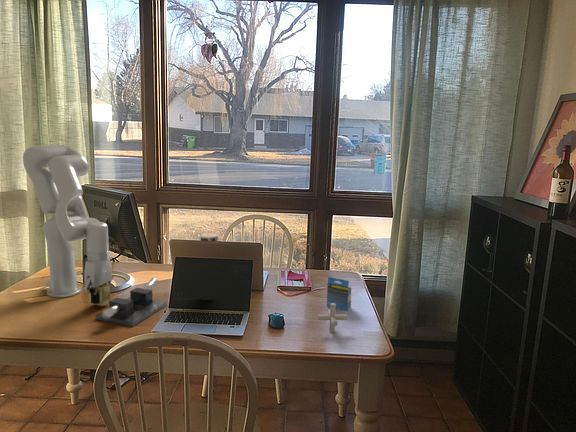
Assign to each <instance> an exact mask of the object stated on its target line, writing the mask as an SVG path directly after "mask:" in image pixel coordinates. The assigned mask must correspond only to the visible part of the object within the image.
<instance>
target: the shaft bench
mask: <svg viewBox="0 0 576 432" xmlns="http://www.w3.org/2000/svg"><path fill="white" fill-rule="evenodd" d="M158 284H159V280H158V279H157V278H156V277H151V279H150V280H149V281H148V282H147V283H146V284H145V286H143V288H140V287H136V288H134V289H131V290H130V291H129V292H130V296H129V297H127V298H126V299H125V298H119V297H115V298H114V299H112V300H111V299H110V302H109V303H108V304H109V308H106V309H105V310H102V311H100V312H99V313H97V314H95V319H96V320H99V321H104V322H108V323H109V322H110V323H114V324H119V325H124V326H129V327H134V326H136V325H137V324H139V323H141V322H142V321H144V320H146V319H147V318H149V317H151V316H153V315H154V314H155V313H157V312H158V311H161V310H162V309H164V308H165V307H167V302H166V301H160V300H155V299H154V298H153V290H154V288H155V287H156V286H157V285H158ZM134 309H136V311H134ZM137 309H138V310H137Z"/></svg>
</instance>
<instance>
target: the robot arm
mask: <svg viewBox="0 0 576 432" xmlns="http://www.w3.org/2000/svg"><path fill="white" fill-rule="evenodd" d="M22 163H23V167H24V169H25V172H26V173H27V175H28V177H29V179H30V180H31V183H32V185H33V187H34V191H35V194H36V196H37V201H38V204H39V206H40V209H41V212H43V214H45V215H55V216H53V217H51V218H48V219H46V220H45V222H44V223H43V226H42V227H43V228H42V229H43V234H44V238H45V242H46V246H47V257H48V267H49V279H47V281H46V282H45V283H44V285H45V286H47V287H49V289H48V290H47V291H46V294H47V296H48V297H52V298H68V297H71V296H75V295H77V294H80V293H81V291H82V287H81V286H80V285H78V283H77V273H76V271H77V270H76V258H75V257H76V256H75V255H76V254H75V249H74V246H73V245H72V244H71V243H70V242H76V241H80V240H86V256H87V258H86V260H85V265H84V270H83V271H84V277H83V279H84V281H83V283H84V288H83V290H84V291H85V292H87V293H88V294H89V293H90V294H91V303H93V304H92V305H95V304H99V296H98V294H97V291H98V286H100V285H102V284H109V285H110V286H111V282H112V280H113V279H114V275H112V274H113V273H112V272H113V271H112V264H111V263H112V262H111V258H110V247H109V226H108V224H107V223H106V222H104V221H100V220H98V219H97V218H95V217H94V218H93V217H89V216H88V213H87V209H86V206H85V203H84V200H83V197H82V195H83V193H84V190H83V188H82V184H81V181H80V180H79V177H83V176H86V175H87V173H89V170H90V169H89V167H90V166H89V163H88V161H87V159H86V158H85V156H84V155H83V154H81V153H80V152H79V151H77V150H75V149H74V148H72V147H71V146H68V145H65V144H53V145H52V144H51V145H49V144H47V145H45V144H44V145H34V146H29V147H27V148H26V149H25V150H24V152H23V155H22ZM47 168H48V169H47ZM93 288H94V290H93Z"/></svg>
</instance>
